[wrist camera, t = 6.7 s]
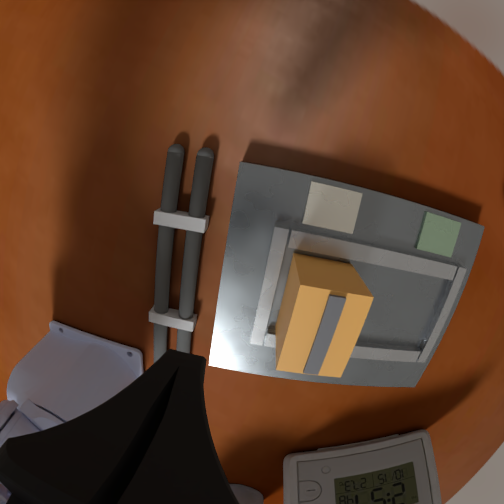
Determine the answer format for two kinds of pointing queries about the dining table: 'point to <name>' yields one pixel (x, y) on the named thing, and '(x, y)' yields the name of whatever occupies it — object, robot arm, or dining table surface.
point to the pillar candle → (246, 494)
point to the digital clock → (365, 473)
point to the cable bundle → (195, 227)
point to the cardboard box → (320, 316)
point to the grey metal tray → (348, 251)
